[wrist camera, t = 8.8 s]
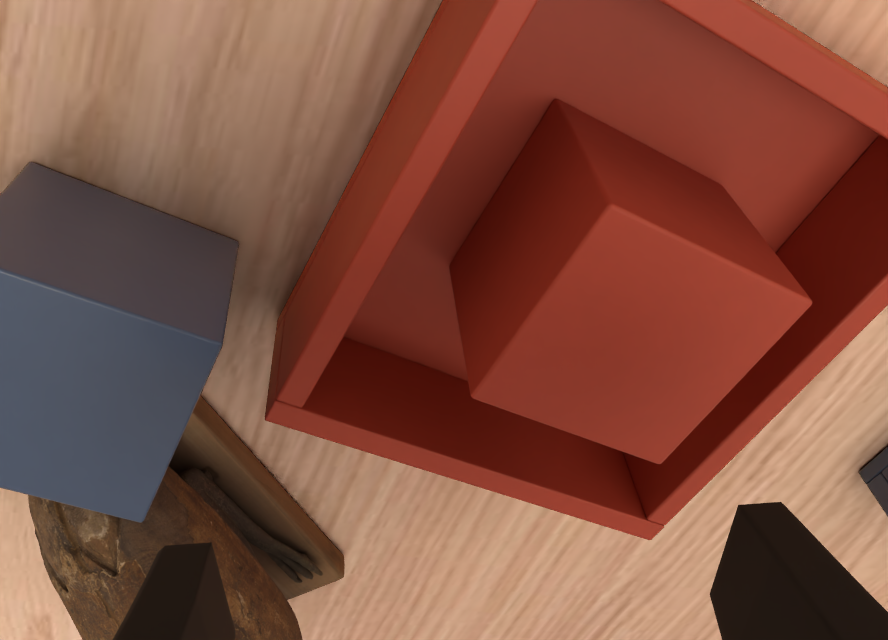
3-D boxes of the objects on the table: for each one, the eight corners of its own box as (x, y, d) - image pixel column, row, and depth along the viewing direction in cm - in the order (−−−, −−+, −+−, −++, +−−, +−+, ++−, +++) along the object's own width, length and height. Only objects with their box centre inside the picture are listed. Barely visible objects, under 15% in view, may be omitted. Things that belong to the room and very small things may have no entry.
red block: (606, 332, 20) (661, 466, 17) (447, 266, 19) (469, 399, 15) (723, 185, 18) (815, 302, 14) (554, 96, 16) (611, 203, 13)
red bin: (615, 441, 23) (650, 541, 20) (276, 320, 20) (263, 420, 17) (914, 103, 18) (1018, 177, 15) (519, -149, 14) (559, -115, 11)
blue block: (173, 395, 20) (142, 524, 16) (-24, 334, 18) (-110, 461, 15) (239, 241, 18) (223, 344, 14) (29, 159, 17) (-53, 251, 13)
